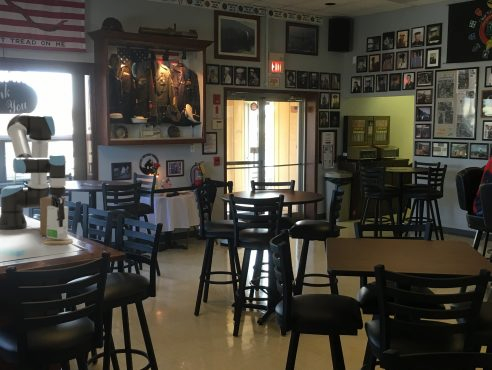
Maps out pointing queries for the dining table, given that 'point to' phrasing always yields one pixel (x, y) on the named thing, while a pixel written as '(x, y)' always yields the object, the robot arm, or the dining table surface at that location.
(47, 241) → the cork trivet
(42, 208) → the wooden block
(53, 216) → the skincare box
